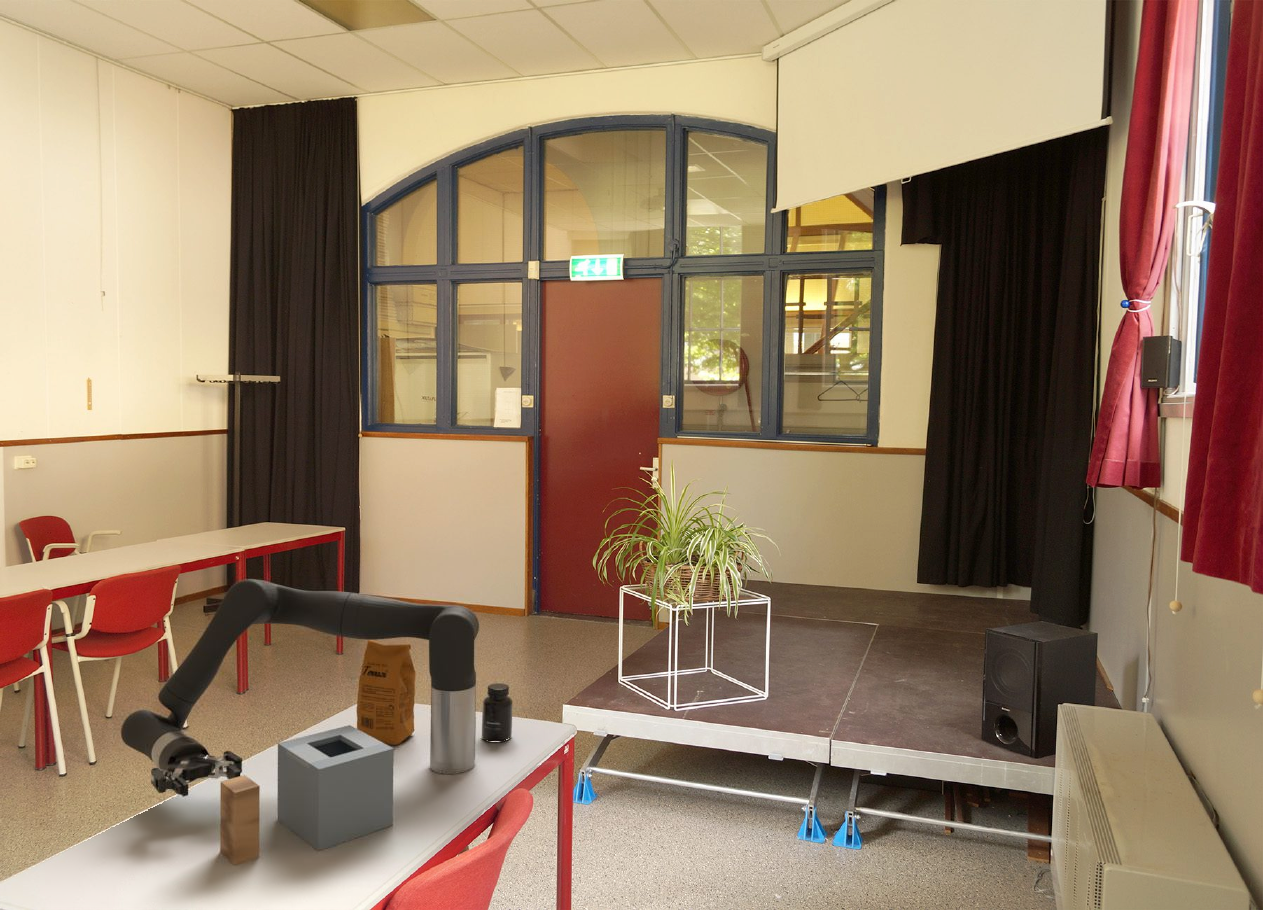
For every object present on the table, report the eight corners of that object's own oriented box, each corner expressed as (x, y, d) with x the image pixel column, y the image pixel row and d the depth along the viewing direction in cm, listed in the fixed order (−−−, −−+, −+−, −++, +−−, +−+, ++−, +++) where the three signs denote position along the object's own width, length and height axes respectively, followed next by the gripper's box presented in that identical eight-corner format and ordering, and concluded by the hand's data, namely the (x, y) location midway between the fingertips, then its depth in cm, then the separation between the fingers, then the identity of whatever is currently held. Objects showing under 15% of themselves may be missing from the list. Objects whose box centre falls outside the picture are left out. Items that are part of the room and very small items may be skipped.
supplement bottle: (487, 745, 200) (488, 692, 199) (477, 735, 206) (478, 683, 205) (516, 740, 203) (517, 688, 202) (506, 730, 209) (507, 680, 208)
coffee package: (375, 726, 210) (376, 633, 209) (420, 733, 206) (422, 639, 205) (348, 740, 200) (349, 643, 200) (395, 748, 196) (396, 649, 195)
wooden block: (220, 851, 149) (220, 781, 149) (244, 844, 152) (244, 774, 152) (234, 865, 145) (234, 792, 144) (259, 856, 148) (259, 785, 147)
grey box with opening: (277, 819, 161) (277, 743, 161) (349, 796, 171) (349, 725, 171) (318, 850, 150) (319, 769, 150) (392, 825, 160) (393, 748, 160)
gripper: (138, 745, 162) (168, 773, 151) (219, 728, 172) (253, 752, 161) (137, 786, 163) (168, 816, 151) (218, 766, 173) (252, 793, 161)
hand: (212, 783), depth 156 cm, fingers open, 8 cm apart
